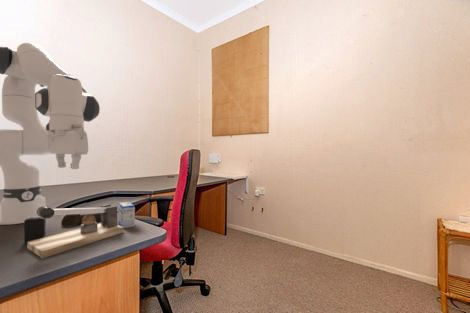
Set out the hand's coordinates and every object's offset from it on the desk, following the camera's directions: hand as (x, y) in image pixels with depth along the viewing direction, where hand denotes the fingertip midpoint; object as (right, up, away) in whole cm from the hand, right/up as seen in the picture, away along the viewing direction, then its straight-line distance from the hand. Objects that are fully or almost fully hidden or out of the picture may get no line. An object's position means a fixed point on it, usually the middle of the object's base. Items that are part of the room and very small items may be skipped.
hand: (68, 168), depth 74 cm
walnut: (+3, -21, +6) cm, 22 cm away
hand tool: (-7, -24, +21) cm, 33 cm away
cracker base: (+2, -25, +3) cm, 25 cm away
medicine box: (+10, -24, +19) cm, 32 cm away
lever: (+2, -16, +3) cm, 17 cm away
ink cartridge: (-12, -25, +2) cm, 28 cm away
